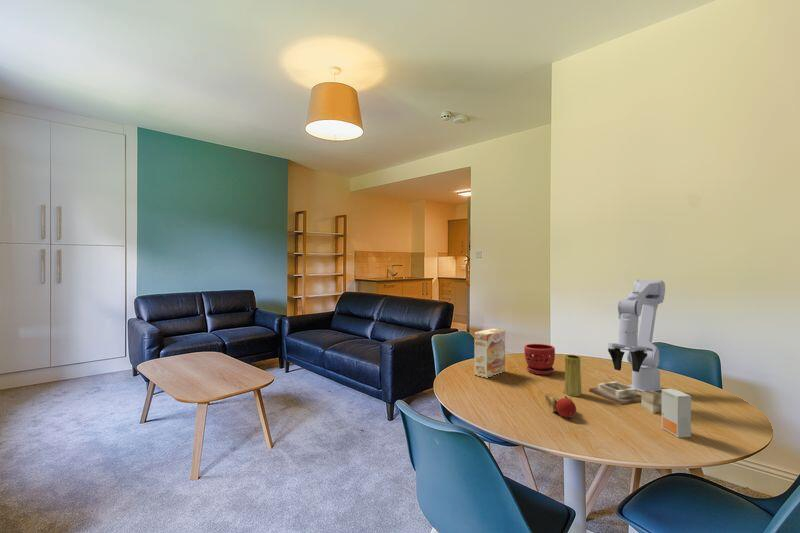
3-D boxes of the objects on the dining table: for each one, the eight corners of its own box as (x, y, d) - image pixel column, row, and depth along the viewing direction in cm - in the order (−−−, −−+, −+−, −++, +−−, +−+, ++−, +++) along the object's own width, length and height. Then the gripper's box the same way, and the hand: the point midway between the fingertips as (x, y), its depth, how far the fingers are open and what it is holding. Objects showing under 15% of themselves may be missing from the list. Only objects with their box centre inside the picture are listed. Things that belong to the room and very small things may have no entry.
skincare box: (660, 428, 108) (660, 388, 108) (673, 427, 108) (673, 388, 108) (678, 438, 102) (678, 396, 102) (691, 437, 102) (691, 395, 102)
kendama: (536, 403, 131) (555, 417, 113) (538, 385, 132) (558, 397, 114) (557, 407, 131) (580, 422, 113) (559, 390, 132) (583, 401, 114)
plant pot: (557, 370, 167) (557, 344, 167) (552, 378, 156) (552, 350, 156) (528, 366, 174) (527, 341, 174) (521, 373, 163) (521, 347, 163)
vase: (583, 397, 133) (583, 358, 133) (566, 396, 135) (566, 358, 134) (579, 391, 139) (578, 354, 139) (562, 390, 140) (562, 354, 140)
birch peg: (649, 407, 124) (649, 390, 124) (661, 411, 120) (661, 394, 120) (641, 408, 122) (641, 391, 122) (652, 413, 119) (652, 395, 118)
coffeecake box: (487, 379, 155) (487, 334, 154) (473, 375, 160) (473, 331, 160) (505, 372, 165) (505, 329, 164) (492, 368, 170) (492, 327, 170)
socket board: (612, 387, 143) (612, 378, 143) (646, 400, 130) (646, 390, 130) (589, 391, 139) (589, 382, 139) (621, 404, 126) (621, 394, 126)
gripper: (619, 332, 125) (617, 371, 124) (655, 335, 127) (653, 374, 126) (604, 330, 132) (602, 367, 131) (638, 333, 134) (636, 370, 133)
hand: (626, 370), depth 129 cm, fingers open, 7 cm apart
